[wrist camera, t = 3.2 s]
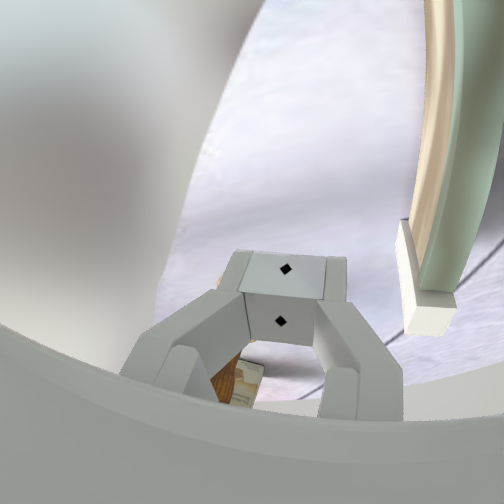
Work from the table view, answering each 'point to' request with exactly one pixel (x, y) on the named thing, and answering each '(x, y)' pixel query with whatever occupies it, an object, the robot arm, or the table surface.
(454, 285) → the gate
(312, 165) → the table surface
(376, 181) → the table surface
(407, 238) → the gate posts
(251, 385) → the skincare box
